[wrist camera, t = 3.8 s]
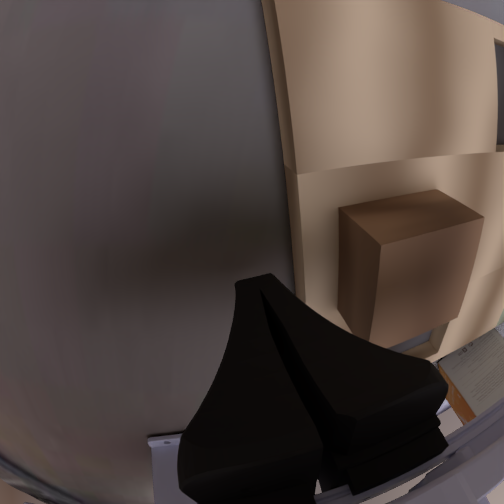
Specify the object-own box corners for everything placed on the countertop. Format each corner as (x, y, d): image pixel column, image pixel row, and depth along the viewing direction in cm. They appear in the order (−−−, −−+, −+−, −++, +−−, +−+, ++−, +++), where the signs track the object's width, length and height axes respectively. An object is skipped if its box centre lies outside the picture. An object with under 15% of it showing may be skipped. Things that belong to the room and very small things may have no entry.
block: (337, 309, 14) (366, 356, 11) (338, 207, 11) (381, 245, 9) (422, 281, 14) (457, 317, 12) (436, 189, 12) (484, 217, 9)
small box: (435, 361, 22) (511, 474, 11) (487, 318, 21) (569, 416, 10) (439, 392, 26) (496, 482, 15) (483, 357, 26) (544, 438, 14)
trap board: (301, 393, 19) (308, 411, 18) (259, -12, 8) (269, -25, 7) (517, 297, 22) (526, 306, 20) (554, 60, 10) (569, 63, 9)
